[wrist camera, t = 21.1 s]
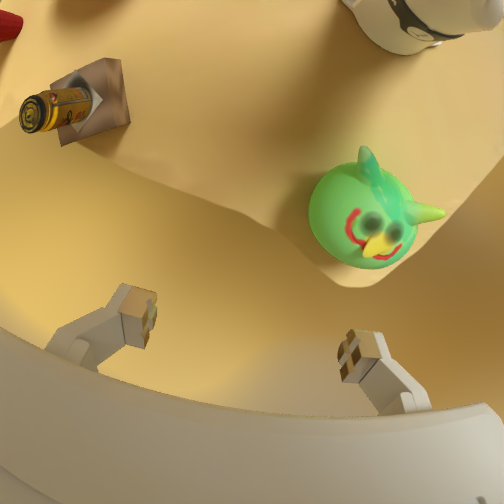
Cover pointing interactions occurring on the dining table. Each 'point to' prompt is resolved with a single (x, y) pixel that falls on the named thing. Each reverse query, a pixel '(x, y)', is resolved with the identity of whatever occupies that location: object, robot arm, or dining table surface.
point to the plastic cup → (9, 25)
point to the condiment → (60, 106)
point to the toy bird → (366, 214)
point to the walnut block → (111, 107)
